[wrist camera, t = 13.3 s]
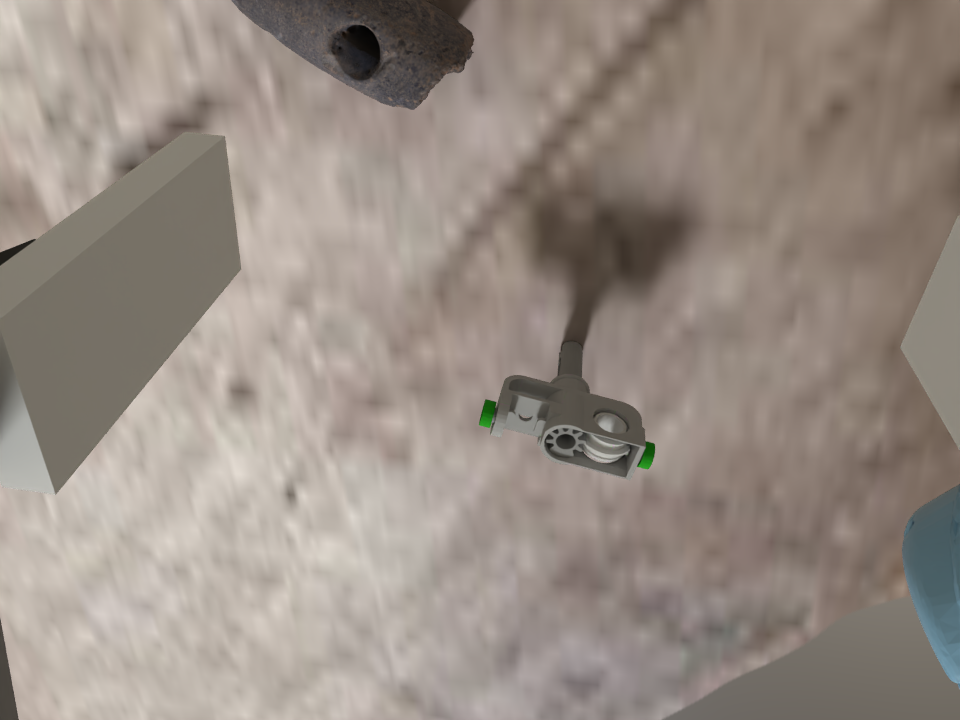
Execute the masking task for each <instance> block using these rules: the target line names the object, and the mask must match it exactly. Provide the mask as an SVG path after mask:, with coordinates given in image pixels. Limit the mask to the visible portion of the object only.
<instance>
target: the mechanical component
mask: <svg viewBox="0 0 960 720" xmlns="http://www.w3.org/2000/svg"><path fill="white" fill-rule="evenodd" d="M582 354H583V352H582V347H581V345H580V344H578V343H577V342H574V341H568V342H565V343H564V345H563V346H562V352H561V353H560V352H559V363H558V376H557V377H556V378H554V379H553V380H552V381H551V383H549V382H545V381H541V380H537V379H533V378H530V377H526V376H521V375H514V376H510V377H508V378H506V379H505V381H504V384H503V387H502V390H501V393H500V397H499V400H498V403H497V406H496V402H494V401H490V400H485V403H484V406H483V410H482V414H481V418H480V422H479V425H480V426H484V427H488V428H490V425H491V422H492V426H491V432H490V435H493V436H497V437H501V436H502V433H503V430H504V428H505V429H509V430H513V431H516V432H520V433H524V434H528V435H532V436H536V437H538V446H540V448H541V451H542V452H543V454H544V455H545V456H546V457H547V458H548V459H550V460H551V461H553V462H555V463H559V464H570V465H574V466H578V467H582V468H586V469H589V470H593V471H597V472H601V473H605V474H609V475H612V476H616V477H620V478H624V479H628V480H631V478H632V475H633V473H634V471H635V469H636V467H640V468H644V469H649V468H650V466H651V464H652V462H653V458H654V454H655V444H654V443H650V442H646V441H645V429H644V428H643V427H642V419H641V416H640V414H639V412H638V411H637V410H636V409H635V408H633V407H632V406H630V405H629V404H626V403H624V402H621V401H617V400H613V399H609V398H605V397H602V396H598V395H594V394H590V390H589V386H588V384H587V383H586V381H585V380H584V379H583V378H582ZM495 407H496V408H495ZM519 414H520V415H524V416H527V417H530V418H523V417H521V416H520V415H519ZM583 451H584V452H585V453H586V454H588V455H589V456H590V457H592V458H594V459H596V460H599V461H603V462H611V463H599V462H596V461H594V460H592V459H590V458H589V457H587V456H586V455H585V454H584V452H583Z"/></svg>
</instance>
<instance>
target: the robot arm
mask: <svg viewBox="0 0 960 720" xmlns="http://www.w3.org/2000/svg"><path fill="white" fill-rule="evenodd" d="M240 270H241V263H240V255H239V247H238V239H237V230H236V222H235V214H234V206H233V198H232V190H231V182H230V174H229V165H228V157H227V149H226V141H225V136H218V135H209V134H199V133H190V132H184V133H183V134H181V135H180V136H179V137H177V138H176V139H175V140H173V141H172V142H170V143H169V144H168V145H166V146H165V147H163V148H162V149H161V150H159V151H158V152H157V153H155V154H154V155H152V156H151V157H150V158H148V159H147V160H146V161H144V162H143V163H141V164H140V165H139V166H137V167H136V168H135V169H133V170H132V171H130V172H129V173H128V174H126V175H125V176H123V177H122V178H121V179H119V180H118V181H117V182H115V183H114V184H112V185H111V186H110V187H108V188H107V189H106V190H104V191H103V192H101V193H100V194H99V195H97V196H96V197H94V198H93V199H92V200H90V201H89V202H88V203H86V204H85V205H83V206H82V207H81V208H79V209H78V210H77V211H75V212H74V213H72V214H71V215H70V216H68V217H67V218H66V219H64V220H63V221H61V222H60V223H59V224H57V225H56V226H54V227H53V228H52V229H50V230H49V231H48V232H46V233H45V234H43V235H42V236H41V237H39V238H38V239H37V240H36V239H33V240H31V241H28V242H26V243H23V244H21V245H18V246H15V247H13V248H10V249H8V250H5V251H3V252H0V483H1V486H2V487H5V488H12V489H19V490H26V491H33V492H40V493H47V494H54V495H56V494H57V493H58V491H59V490H60V489H61V488H62V486H63V485H64V484H65V483H66V482H67V480H68V479H69V478H70V477H71V475H72V474H73V473H74V472H75V471H76V469H77V468H78V467H79V466H80V465H81V463H82V462H83V461H84V460H85V458H86V457H87V456H88V455H89V454H90V452H91V451H92V450H93V449H94V447H95V446H96V445H97V444H98V443H99V441H100V440H101V439H102V438H103V437H104V435H105V434H106V433H107V432H108V430H109V429H110V428H111V427H112V426H113V424H114V423H115V422H116V421H117V419H118V418H119V417H120V416H121V415H122V413H123V412H124V411H125V410H126V409H127V407H128V406H129V405H130V404H131V402H132V401H133V400H134V399H135V398H136V396H137V395H138V394H139V393H140V391H141V390H142V389H143V388H144V387H145V385H146V384H147V383H148V382H149V380H150V379H151V378H152V377H153V376H154V374H155V373H156V372H157V371H158V370H159V368H160V367H161V366H162V365H163V363H164V362H165V361H166V360H167V359H168V357H169V356H170V355H171V354H172V352H173V351H174V350H175V349H176V348H177V346H178V345H179V344H180V343H181V342H182V340H183V339H184V338H185V337H186V335H187V334H188V333H189V332H190V331H191V329H192V328H193V327H194V326H195V324H196V323H197V322H198V321H199V320H200V318H201V317H202V316H203V315H204V314H205V312H206V311H207V310H208V309H209V307H210V306H211V305H212V304H213V303H214V301H215V300H216V299H217V298H218V296H219V295H220V294H221V293H222V292H223V290H224V289H225V288H226V287H227V286H228V284H229V283H230V282H231V281H232V279H233V278H234V277H235V276H236V275H237V273H238V272H239V271H240ZM900 348H901V350H902V351H903V353H904V355H905V357H906V358H907V360H908V362H909V364H910V365H911V367H912V369H913V370H914V372H915V374H916V376H917V377H918V379H919V381H920V383H921V384H922V386H923V388H924V390H925V391H926V393H927V395H928V396H929V398H930V400H931V402H932V403H933V405H934V407H935V409H936V410H937V412H938V414H939V415H940V417H941V419H942V421H943V422H944V424H945V426H946V428H947V429H948V431H949V433H950V434H951V436H952V438H953V440H954V441H955V443H956V445H957V447H958V448H959V450H960V215H958V217H957V219H956V221H955V224H954V226H953V228H952V231H951V233H950V235H949V237H948V240H947V242H946V244H945V246H944V249H943V251H942V253H941V256H940V258H939V260H938V262H937V265H936V267H935V269H934V271H933V274H932V276H931V278H930V281H929V283H928V285H927V287H926V290H925V292H924V294H923V296H922V299H921V301H920V303H919V306H918V308H917V310H916V312H915V315H914V317H913V319H912V321H911V324H910V326H909V328H908V331H907V333H906V335H905V337H904V340H903V342H902V344H901V346H900ZM902 555H903V565H904V570H905V575H906V580H907V583H908V587H909V591H910V594H911V597H912V600H913V603H914V606H915V609H916V611H917V614H918V617H919V619H920V621H921V624H922V626H923V628H924V631H925V633H926V635H927V638H928V639H929V642H930V644H931V646H932V648H933V650H934V652H935V654H936V656H937V658H938V660H939V662H940V664H941V665H942V667H943V669H944V670H945V672H946V674H947V675H948V677H949V678H950V680H951V681H953V682H956V683H958V687H959V689H960V484H959V485H957V486H956V487H954V488H952V489H951V490H949V491H947V492H945V493H944V494H942V495H940V496H939V497H937V498H935V499H933V500H932V501H930V502H928V503H927V504H925V505H923V506H922V507H920V508H919V509H918V510H917V511H916V512H915V513H914V514H913V515H912V516H911V518H910V519H909V521H908V523H907V526H906V529H905V532H904V541H903V547H902ZM0 720H19V719H18V714H17V708H16V702H15V697H14V691H13V686H12V680H11V675H10V669H9V664H8V658H7V653H6V647H5V642H4V636H3V631H2V625H1V620H0Z"/></svg>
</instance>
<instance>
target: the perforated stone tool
mask: <svg viewBox="0 0 960 720" xmlns="http://www.w3.org/2000/svg"><path fill="white" fill-rule="evenodd" d="M232 2H233V3H234V4H235V5H236V6H237V7H238V9H239V10H240V11H241V12H242V13H243V14H245V15H246V16H247V17H248V18H249V19H251V20H252V21H253V22H254V23H255V24H257V25H258V26H259V27H261V28H262V29H264V30H265V31H268V32H270V33H271V34H272V35H273V36H274V37H275V38H276V39H277V40H279V41H280V42H281V43H282V44H284V45H285V46H286V47H288V48H289V49H291V50H292V51H294V52H295V53H297V54H298V55H300V56H301V57H303V58H304V59H305V60H307V61H309V62H310V63H312V64H313V65H315V66H316V67H318V68H319V69H321V70H323V71H325V72H327V73H328V74H330V75H332V76H333V77H335V78H336V79H338V80H340V81H341V82H343V83H345V84H347V85H349V86H350V87H352V88H354V89H356V90H358V91H359V92H361V93H363V94H365V95H367V96H369V97H371V98H373V99H375V100H377V101H379V102H381V103H383V104H386V105H390V106H393V107H395V106H396V107H405V108H408V109H411V110H414V109H415V108H416V107H417V106H419V105H420V104H421V103H422V101H423V100H425V99H426V97H427V96H428V93H429V92H430V90H431V89H432V88H434V86H435V85H436V84H438V83H439V82H440V80H441V79H442V78H443V76H444V75H445V74H448V73H452V72H455V73H460V72H462V71H463V70H464V66H465V62H466V60H468V59H470V57H471V55H472V53H474V52H472V50H471V47H472V45H473V42H474V38H473V35H472V33H471V32H470V31H469V30H468V29H467V28H465V27H464V26H463V25H462V24H460V23H459V22H458V21H456V20H455V19H454V18H452V17H451V16H449V15H448V14H446V13H445V12H444V11H442V10H441V9H439V8H437V7H436V6H434V5H433V4H431V3H430V2H428V1H426V0H232Z"/></svg>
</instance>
